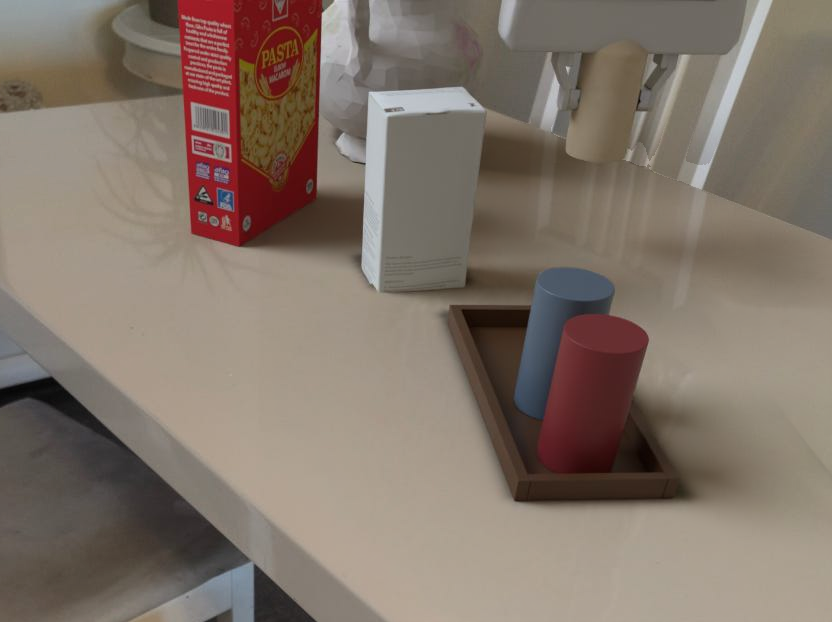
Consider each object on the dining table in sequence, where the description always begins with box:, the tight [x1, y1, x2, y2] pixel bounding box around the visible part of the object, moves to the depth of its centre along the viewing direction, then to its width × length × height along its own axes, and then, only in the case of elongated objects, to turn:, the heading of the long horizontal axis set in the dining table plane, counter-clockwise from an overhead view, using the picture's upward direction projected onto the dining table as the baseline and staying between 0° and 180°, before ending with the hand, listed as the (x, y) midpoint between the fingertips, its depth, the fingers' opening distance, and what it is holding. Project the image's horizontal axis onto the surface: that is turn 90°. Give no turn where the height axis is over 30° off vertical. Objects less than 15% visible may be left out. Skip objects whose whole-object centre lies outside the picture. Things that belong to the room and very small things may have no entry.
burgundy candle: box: [537, 314, 650, 474], centre depth 63 cm, size 5×5×9 cm
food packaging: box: [177, 0, 323, 247], centre depth 86 cm, size 15×5×25 cm, turn 153°
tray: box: [447, 304, 680, 502], centre depth 71 cm, size 11×25×2 cm, turn 6°
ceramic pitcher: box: [319, 0, 484, 164], centre depth 102 cm, size 22×20×25 cm
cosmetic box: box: [361, 87, 488, 293], centre depth 81 cm, size 8×6×15 cm
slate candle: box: [514, 266, 616, 420], centre depth 68 cm, size 5×5×9 cm
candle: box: [565, 40, 649, 164], centre depth 85 cm, size 6×6×10 cm
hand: (603, 109), depth 86 cm, fingers closed on candle, 5 cm apart
